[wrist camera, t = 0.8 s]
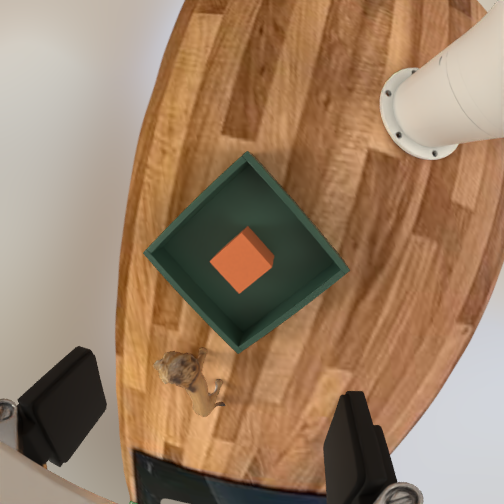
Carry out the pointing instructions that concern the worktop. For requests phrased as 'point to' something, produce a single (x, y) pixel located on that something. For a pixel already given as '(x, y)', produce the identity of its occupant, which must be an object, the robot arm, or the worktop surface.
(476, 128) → the robot arm
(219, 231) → the crate
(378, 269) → the worktop surface
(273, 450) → the worktop surface
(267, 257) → the toy cube
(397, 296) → the worktop surface
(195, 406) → the lion figurine
